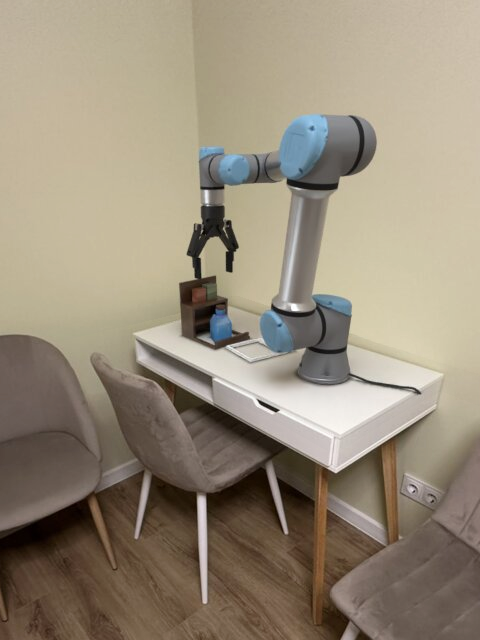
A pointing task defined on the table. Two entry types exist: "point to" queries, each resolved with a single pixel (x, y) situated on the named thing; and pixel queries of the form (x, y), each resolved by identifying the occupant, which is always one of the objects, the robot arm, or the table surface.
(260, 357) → the photo frame
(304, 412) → the table surface
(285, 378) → the table surface
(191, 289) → the desk rack
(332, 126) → the robot arm
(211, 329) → the perfume bottle
